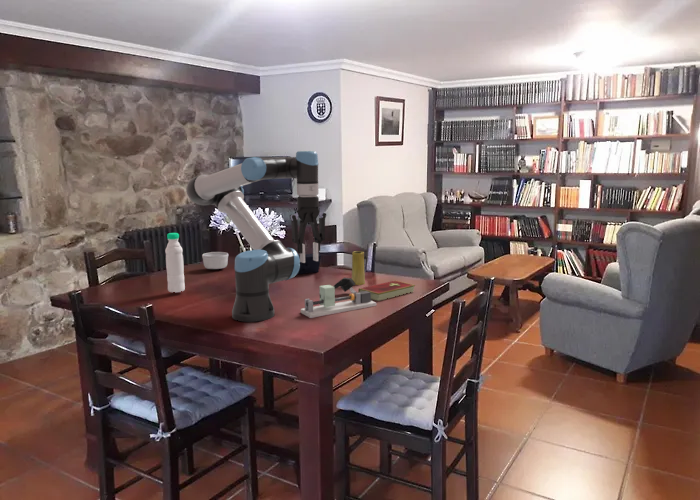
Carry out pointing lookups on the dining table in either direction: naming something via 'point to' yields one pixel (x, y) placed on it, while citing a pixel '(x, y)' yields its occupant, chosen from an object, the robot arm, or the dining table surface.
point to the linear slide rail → (338, 305)
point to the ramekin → (215, 260)
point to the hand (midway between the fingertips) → (309, 261)
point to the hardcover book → (388, 290)
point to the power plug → (345, 284)
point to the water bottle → (174, 264)
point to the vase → (358, 268)
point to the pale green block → (327, 295)
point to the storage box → (309, 264)
